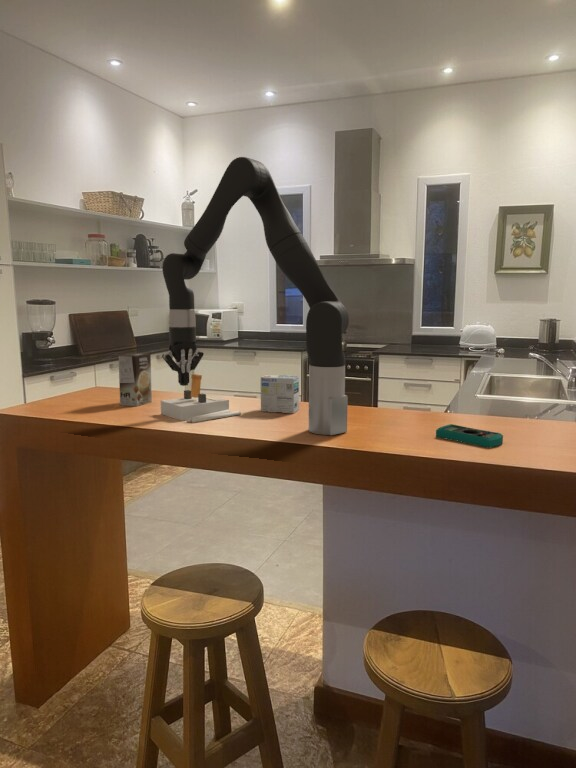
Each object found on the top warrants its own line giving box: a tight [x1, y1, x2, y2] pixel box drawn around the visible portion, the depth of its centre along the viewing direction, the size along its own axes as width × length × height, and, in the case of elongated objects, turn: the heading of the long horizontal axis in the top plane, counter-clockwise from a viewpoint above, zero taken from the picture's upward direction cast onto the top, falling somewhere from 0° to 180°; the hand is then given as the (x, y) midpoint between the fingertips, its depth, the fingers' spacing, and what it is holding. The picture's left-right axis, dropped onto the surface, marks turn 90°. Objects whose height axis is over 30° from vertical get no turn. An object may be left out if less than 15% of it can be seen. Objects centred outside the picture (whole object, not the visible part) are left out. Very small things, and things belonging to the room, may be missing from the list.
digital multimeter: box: [435, 423, 504, 449], centre depth 138 cm, size 7×15×3 cm, turn 45°
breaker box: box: [160, 389, 230, 421], centre depth 168 cm, size 12×16×6 cm
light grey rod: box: [192, 410, 242, 424], centre depth 161 cm, size 1×16×1 cm, turn 131°
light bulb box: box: [260, 374, 300, 414], centre depth 172 cm, size 11×7×11 cm, turn 76°
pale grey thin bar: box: [185, 408, 231, 423], centre depth 163 cm, size 1×16×1 cm, turn 141°
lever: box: [190, 373, 203, 398], centre depth 167 cm, size 3×2×7 cm, turn 41°
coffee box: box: [118, 352, 153, 407], centre depth 183 cm, size 9×6×16 cm
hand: (184, 385), depth 164 cm, fingers closed
